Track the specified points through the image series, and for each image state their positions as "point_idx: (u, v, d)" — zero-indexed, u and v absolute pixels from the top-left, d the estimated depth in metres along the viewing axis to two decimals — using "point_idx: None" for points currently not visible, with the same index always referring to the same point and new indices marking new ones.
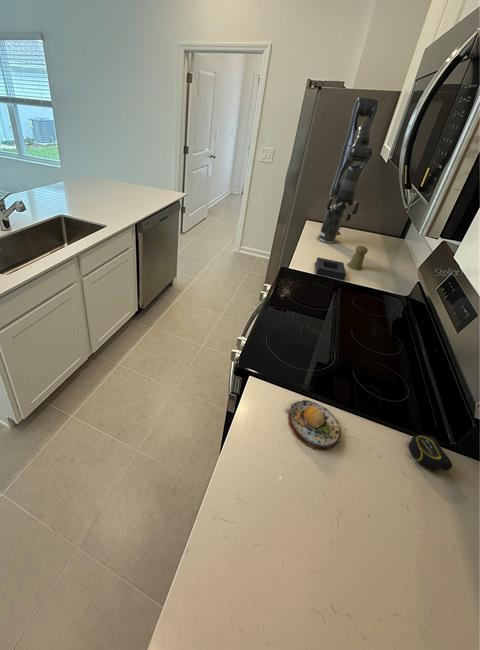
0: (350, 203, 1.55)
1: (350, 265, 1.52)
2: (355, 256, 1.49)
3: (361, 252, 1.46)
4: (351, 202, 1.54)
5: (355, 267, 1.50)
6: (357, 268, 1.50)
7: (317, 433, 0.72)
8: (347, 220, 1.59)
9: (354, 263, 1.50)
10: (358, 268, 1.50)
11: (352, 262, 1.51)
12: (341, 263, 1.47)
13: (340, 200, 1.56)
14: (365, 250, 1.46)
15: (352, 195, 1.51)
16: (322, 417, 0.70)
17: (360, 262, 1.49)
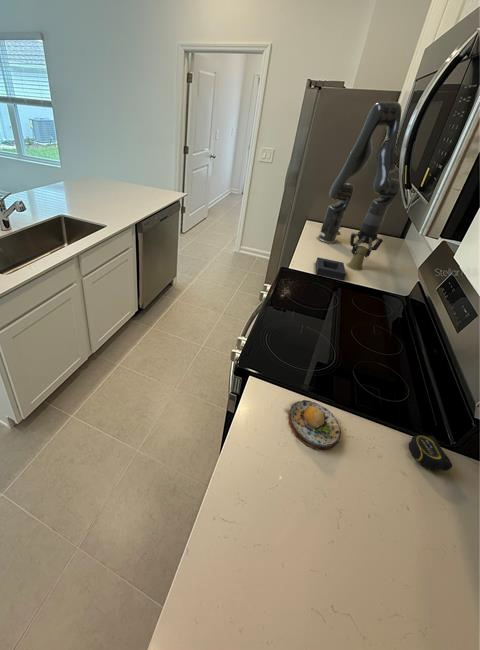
0: (374, 238, 1.43)
1: (350, 265, 1.52)
2: (355, 256, 1.49)
3: (361, 252, 1.46)
4: (375, 237, 1.43)
5: (355, 267, 1.50)
6: (357, 268, 1.50)
7: (317, 433, 0.72)
8: (366, 256, 1.48)
9: (354, 263, 1.50)
10: (358, 268, 1.50)
11: (352, 262, 1.51)
12: (341, 263, 1.47)
13: (363, 235, 1.44)
14: (365, 250, 1.46)
15: (377, 230, 1.39)
16: (322, 417, 0.70)
17: (360, 262, 1.49)
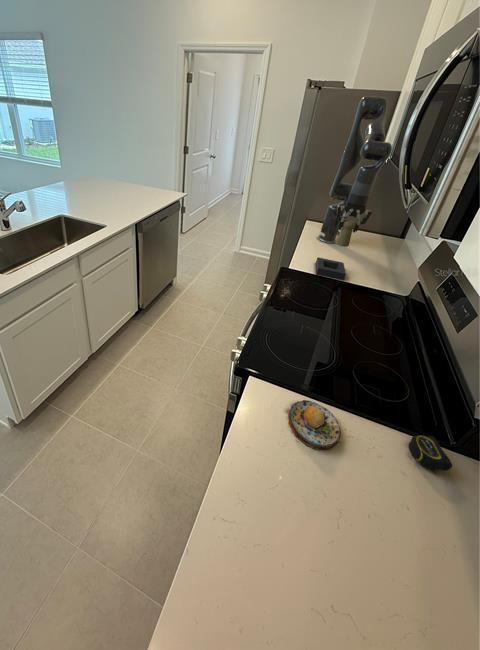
0: (362, 210, 1.29)
1: (337, 242, 1.38)
2: (342, 231, 1.36)
3: (348, 226, 1.33)
4: (363, 209, 1.29)
5: (342, 244, 1.36)
6: (344, 245, 1.36)
7: (317, 433, 0.72)
8: (354, 231, 1.34)
9: (341, 239, 1.36)
10: (345, 245, 1.36)
11: (339, 238, 1.37)
12: (341, 263, 1.47)
13: (350, 207, 1.30)
14: (353, 224, 1.32)
15: (365, 201, 1.26)
16: (322, 417, 0.70)
17: (347, 237, 1.35)
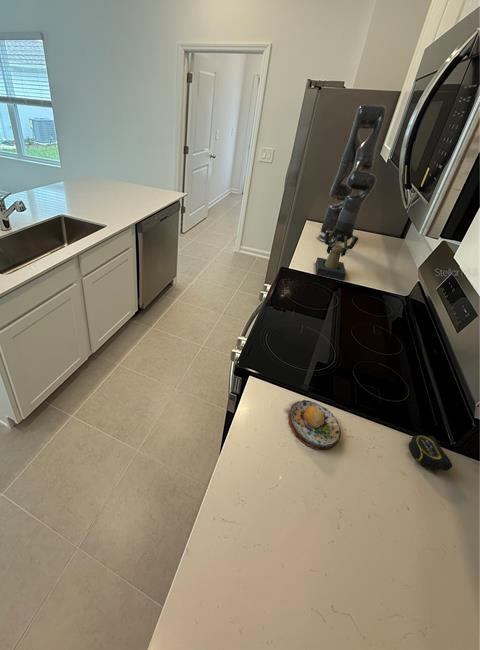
0: (349, 236, 1.35)
1: (325, 265, 1.43)
2: (330, 255, 1.41)
3: (336, 251, 1.38)
4: (350, 235, 1.34)
5: (330, 267, 1.42)
6: (333, 268, 1.42)
7: (317, 433, 0.72)
8: (342, 255, 1.39)
9: (329, 263, 1.42)
10: (334, 268, 1.42)
11: (327, 262, 1.42)
12: (341, 263, 1.47)
13: (338, 232, 1.35)
14: (340, 249, 1.37)
15: (351, 228, 1.31)
16: (322, 417, 0.70)
17: (335, 261, 1.40)
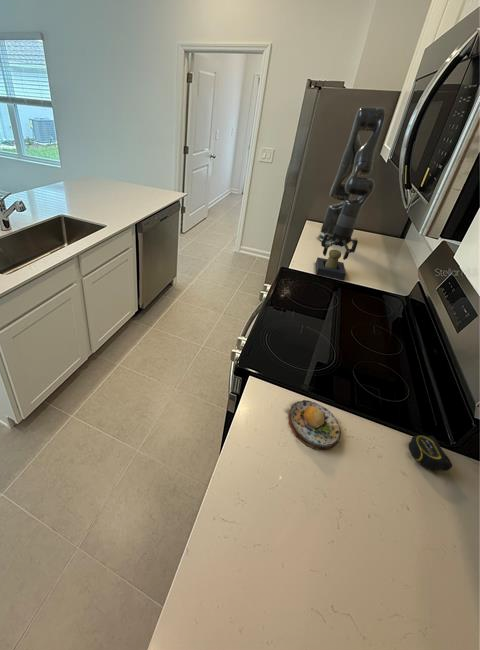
0: (348, 240, 1.36)
1: None
2: (328, 260, 1.42)
3: (334, 256, 1.39)
4: (349, 239, 1.35)
5: None
6: None
7: (317, 433, 0.72)
8: (344, 259, 1.40)
9: None
10: None
11: None
12: (341, 263, 1.47)
13: (336, 237, 1.36)
14: (338, 254, 1.39)
15: (350, 232, 1.32)
16: (322, 417, 0.70)
17: (333, 266, 1.42)
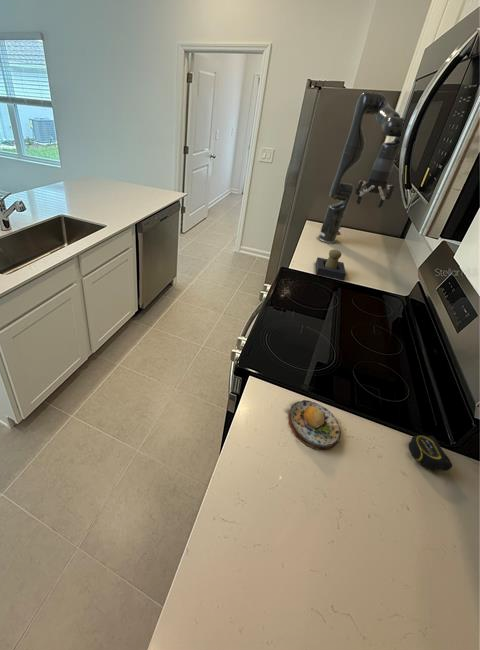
0: (383, 186, 1.34)
1: None
2: (328, 260, 1.42)
3: (334, 256, 1.39)
4: (384, 185, 1.34)
5: None
6: None
7: (317, 433, 0.72)
8: (379, 206, 1.38)
9: None
10: None
11: None
12: (341, 263, 1.47)
13: (372, 183, 1.35)
14: (338, 254, 1.39)
15: (386, 177, 1.31)
16: (322, 417, 0.70)
17: (333, 266, 1.42)
